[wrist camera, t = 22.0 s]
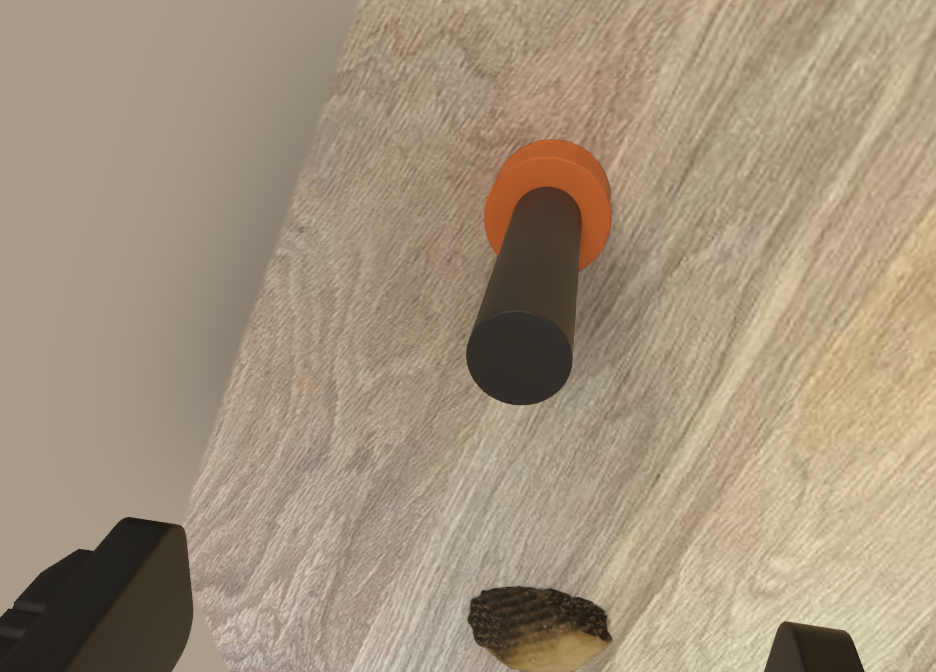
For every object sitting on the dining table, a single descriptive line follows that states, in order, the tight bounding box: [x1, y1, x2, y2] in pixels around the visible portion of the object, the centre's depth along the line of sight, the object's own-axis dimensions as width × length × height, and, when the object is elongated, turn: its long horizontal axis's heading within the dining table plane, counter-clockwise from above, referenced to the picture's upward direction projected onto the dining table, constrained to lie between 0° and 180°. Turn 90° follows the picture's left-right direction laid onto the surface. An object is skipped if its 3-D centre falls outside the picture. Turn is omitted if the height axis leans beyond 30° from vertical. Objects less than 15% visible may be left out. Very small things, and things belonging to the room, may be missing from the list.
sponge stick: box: [466, 140, 611, 405], centre depth 25 cm, size 4×4×14 cm
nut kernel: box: [468, 586, 612, 672], centre depth 39 cm, size 6×5×3 cm
